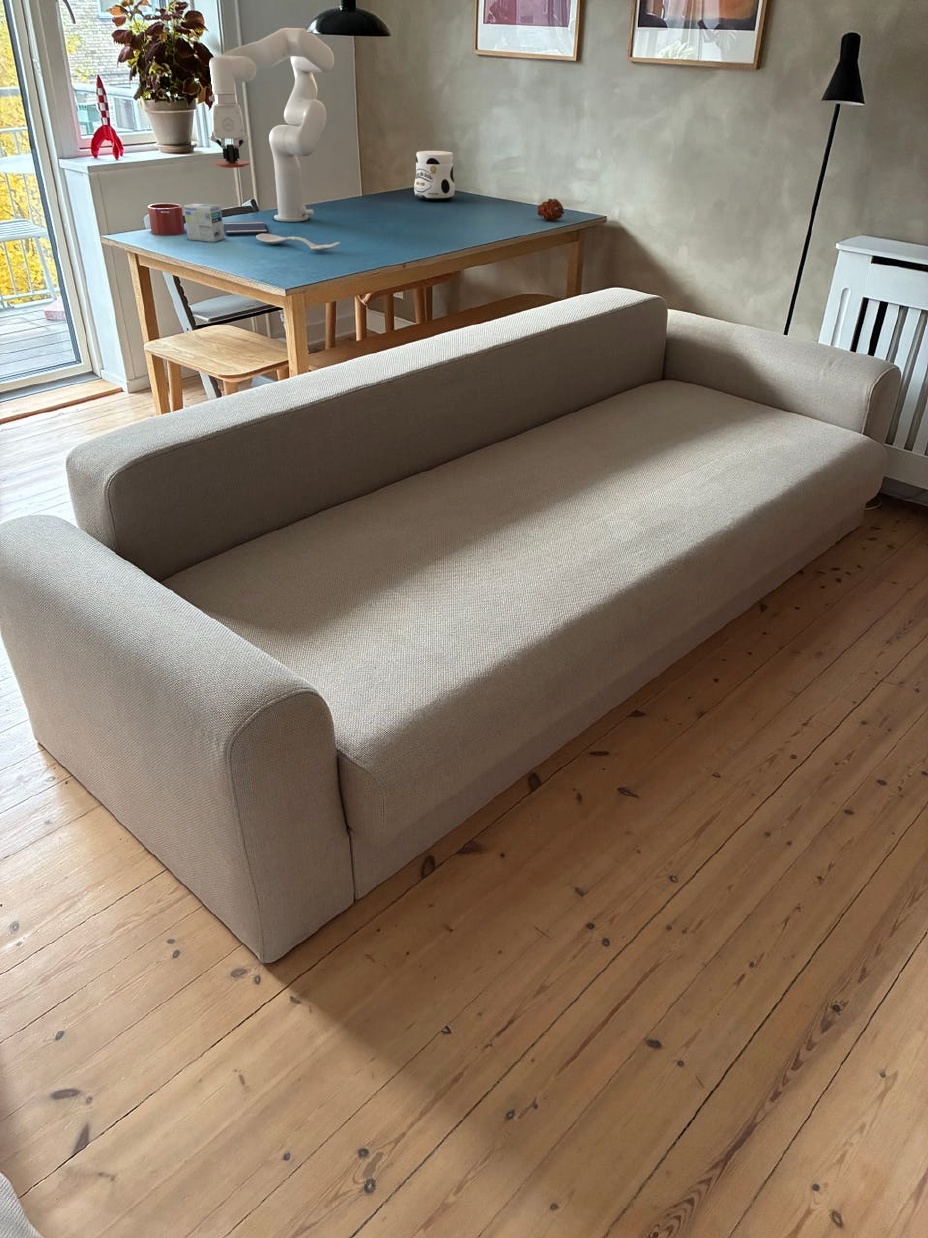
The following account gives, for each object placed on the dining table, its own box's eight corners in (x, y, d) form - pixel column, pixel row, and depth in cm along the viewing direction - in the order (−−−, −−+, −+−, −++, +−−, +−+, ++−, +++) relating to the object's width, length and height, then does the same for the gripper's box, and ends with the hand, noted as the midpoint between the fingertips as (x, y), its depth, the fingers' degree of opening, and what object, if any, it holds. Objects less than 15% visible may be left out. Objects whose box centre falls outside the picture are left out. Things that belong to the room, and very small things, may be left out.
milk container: (410, 201, 396) (409, 154, 387) (418, 195, 411) (418, 149, 401) (450, 203, 394) (451, 155, 384) (458, 197, 408) (458, 151, 399)
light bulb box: (225, 238, 323) (221, 204, 317) (214, 242, 318) (210, 207, 312) (198, 236, 326) (193, 202, 320) (187, 239, 320) (182, 205, 315)
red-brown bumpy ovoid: (561, 227, 361) (538, 227, 369) (572, 211, 363) (549, 212, 371) (551, 209, 355) (528, 210, 363) (563, 193, 357) (540, 194, 365)
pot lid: (249, 163, 332) (247, 142, 328) (251, 167, 322) (249, 146, 318) (213, 163, 329) (211, 142, 325) (214, 168, 319) (212, 146, 316)
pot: (184, 227, 339) (181, 201, 335) (185, 236, 326) (181, 209, 321) (152, 228, 337) (148, 202, 332) (151, 237, 323) (147, 210, 319)
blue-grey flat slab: (263, 224, 347) (263, 221, 346) (267, 234, 330) (267, 231, 330) (224, 225, 344) (223, 222, 343) (226, 235, 327) (226, 232, 327)
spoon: (323, 256, 302) (322, 245, 300) (251, 243, 317) (250, 232, 315) (341, 252, 308) (341, 240, 306) (270, 239, 323) (269, 228, 321)
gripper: (200, 100, 310) (207, 162, 320) (250, 100, 313) (256, 162, 323) (200, 99, 316) (207, 159, 326) (249, 99, 319) (255, 159, 329)
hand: (231, 160), depth 325 cm, fingers closed on pot lid, 2 cm apart
